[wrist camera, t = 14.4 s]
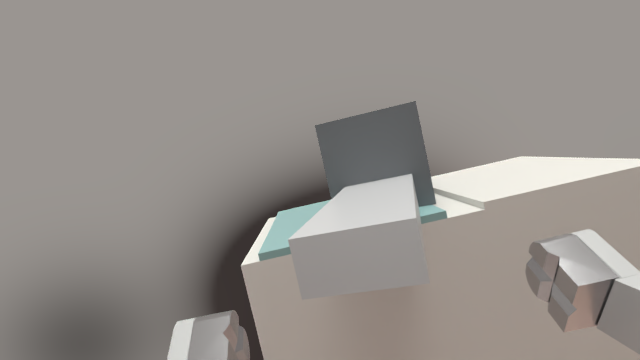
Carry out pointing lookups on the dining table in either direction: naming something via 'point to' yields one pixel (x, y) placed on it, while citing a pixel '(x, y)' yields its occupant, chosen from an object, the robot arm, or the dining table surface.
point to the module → (367, 207)
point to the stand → (457, 271)
